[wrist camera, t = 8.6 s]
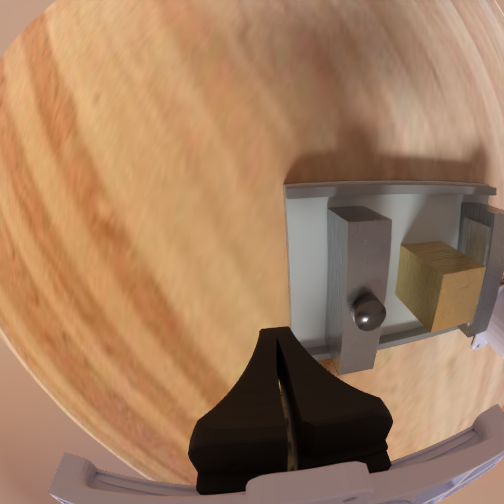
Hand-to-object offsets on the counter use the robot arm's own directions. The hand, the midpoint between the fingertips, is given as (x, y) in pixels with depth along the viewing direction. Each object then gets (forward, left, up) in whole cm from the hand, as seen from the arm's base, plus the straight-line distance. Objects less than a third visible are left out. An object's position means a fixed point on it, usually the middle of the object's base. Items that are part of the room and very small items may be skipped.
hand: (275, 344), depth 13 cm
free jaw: (-5, 0, -6) cm, 8 cm away
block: (-12, 0, -7) cm, 13 cm away
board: (-11, 0, -8) cm, 13 cm away
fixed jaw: (-17, 0, -8) cm, 19 cm away
